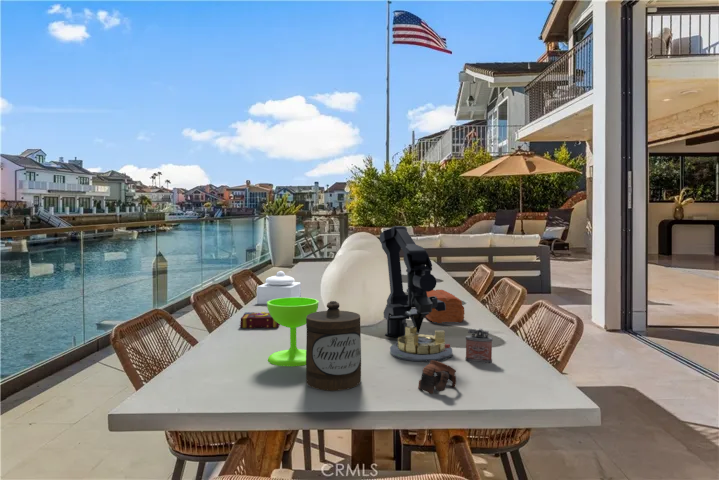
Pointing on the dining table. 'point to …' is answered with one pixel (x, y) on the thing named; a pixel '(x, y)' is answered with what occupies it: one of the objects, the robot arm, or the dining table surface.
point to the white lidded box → (278, 288)
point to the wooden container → (333, 349)
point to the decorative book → (257, 320)
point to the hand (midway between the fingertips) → (417, 332)
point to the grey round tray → (420, 357)
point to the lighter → (478, 347)
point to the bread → (452, 311)
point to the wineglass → (291, 326)
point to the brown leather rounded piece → (440, 380)
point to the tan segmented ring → (412, 346)
